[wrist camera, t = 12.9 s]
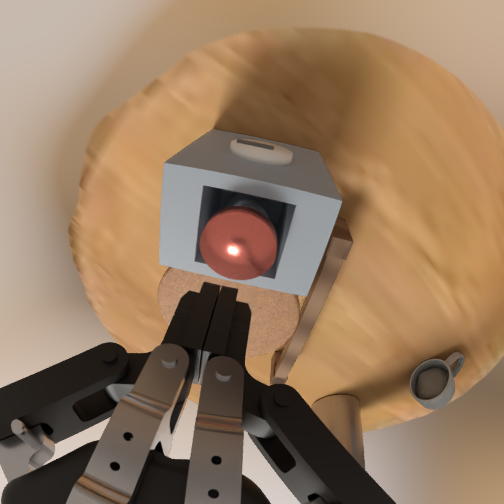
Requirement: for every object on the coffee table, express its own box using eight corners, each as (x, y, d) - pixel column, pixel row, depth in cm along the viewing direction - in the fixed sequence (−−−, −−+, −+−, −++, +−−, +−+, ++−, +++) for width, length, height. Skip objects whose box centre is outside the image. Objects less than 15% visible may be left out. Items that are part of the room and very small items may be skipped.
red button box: (300, 217, 29) (306, 296, 19) (202, 196, 29) (159, 264, 19) (321, 143, 25) (347, 187, 15) (214, 120, 25) (165, 148, 15)
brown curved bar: (284, 361, 42) (283, 385, 38) (271, 359, 42) (269, 383, 38) (344, 219, 29) (353, 241, 25) (326, 214, 29) (332, 236, 25)
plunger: (271, 239, 22) (267, 286, 17) (215, 227, 22) (196, 271, 17) (285, 187, 19) (285, 223, 15) (224, 173, 19) (203, 206, 15)
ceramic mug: (417, 387, 45) (426, 420, 38) (404, 371, 42) (414, 408, 35) (464, 360, 40) (477, 392, 34) (457, 340, 37) (472, 376, 31)
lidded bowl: (163, 243, 33) (122, 308, 23) (251, 180, 28) (233, 237, 18) (231, 313, 37) (216, 385, 28) (318, 270, 32) (327, 347, 23)
